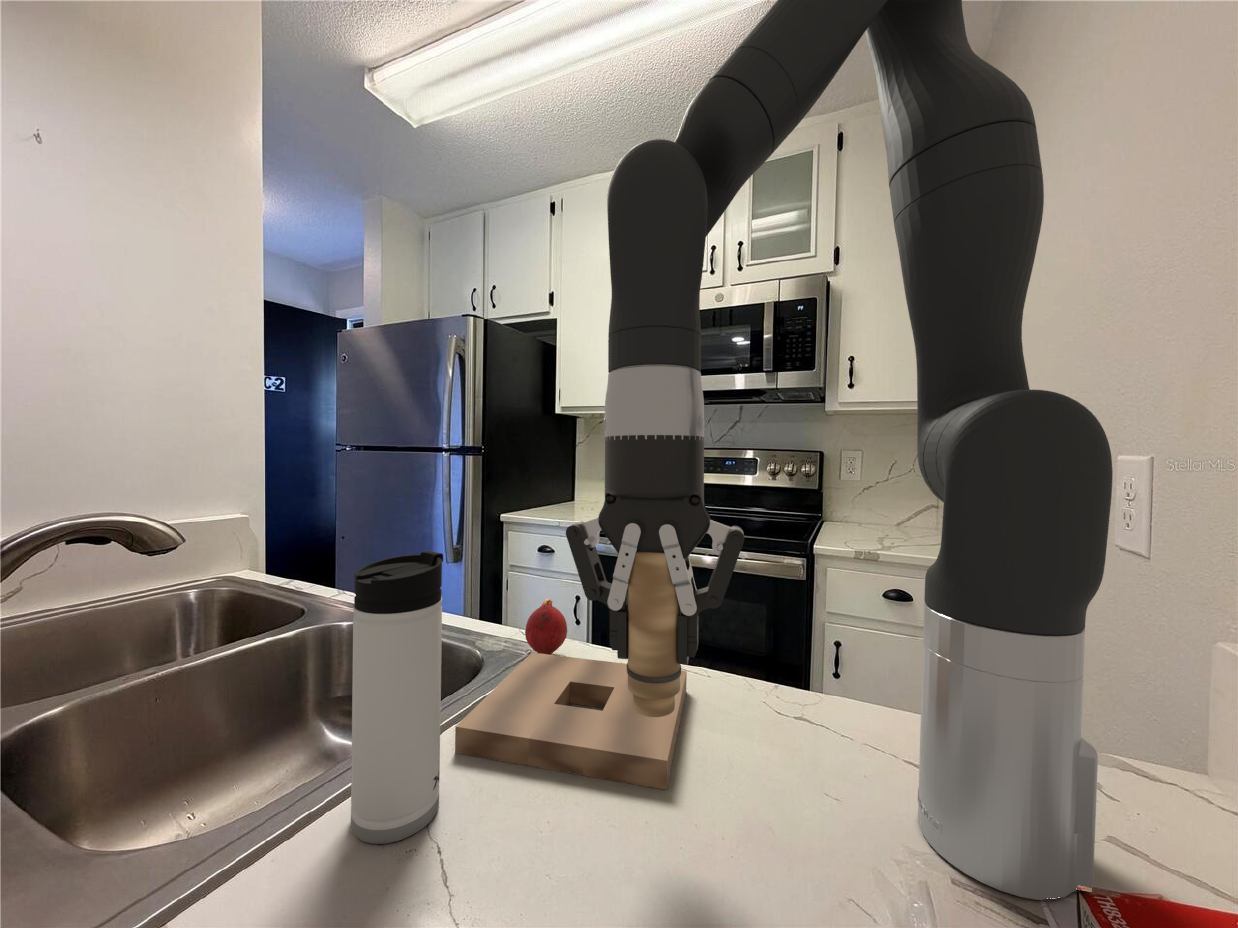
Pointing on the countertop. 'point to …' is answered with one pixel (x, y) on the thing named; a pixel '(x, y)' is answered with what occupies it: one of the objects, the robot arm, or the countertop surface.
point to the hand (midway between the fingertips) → (653, 656)
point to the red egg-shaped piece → (546, 629)
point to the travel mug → (396, 696)
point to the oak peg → (652, 636)
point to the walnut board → (573, 722)
